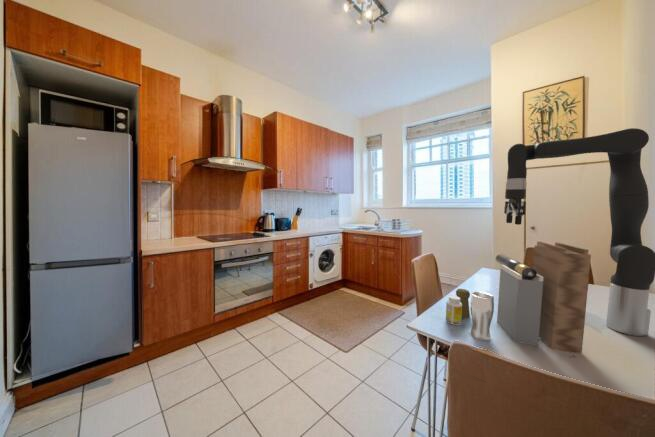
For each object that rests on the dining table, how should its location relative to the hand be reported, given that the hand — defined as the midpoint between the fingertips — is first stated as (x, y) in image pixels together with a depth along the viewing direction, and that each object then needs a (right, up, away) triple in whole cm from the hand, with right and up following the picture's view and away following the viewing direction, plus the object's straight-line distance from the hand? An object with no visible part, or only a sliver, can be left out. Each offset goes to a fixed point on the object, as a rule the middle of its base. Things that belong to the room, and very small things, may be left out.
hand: (513, 223), depth 113 cm
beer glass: (-32, -40, -26) cm, 57 cm away
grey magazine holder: (-17, -40, -24) cm, 49 cm away
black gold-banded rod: (-16, -18, -21) cm, 32 cm away
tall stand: (-8, -40, -28) cm, 49 cm away
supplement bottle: (-37, -39, -16) cm, 56 cm away
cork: (-30, -39, -10) cm, 50 cm away
